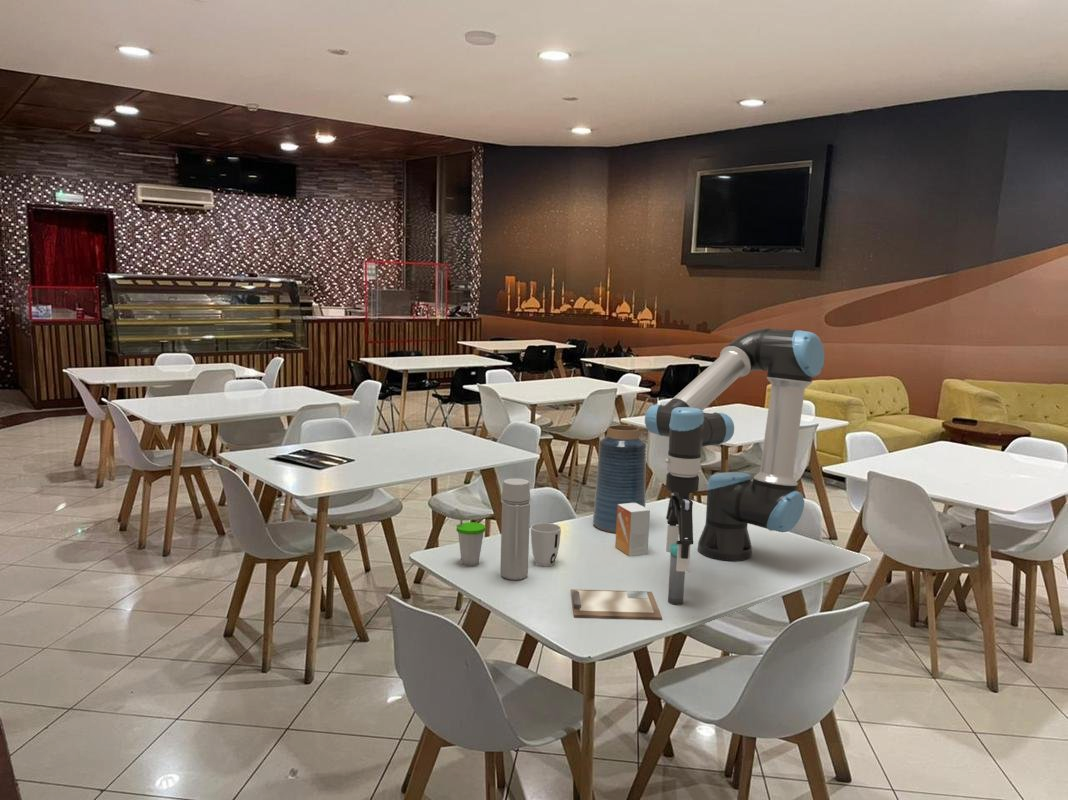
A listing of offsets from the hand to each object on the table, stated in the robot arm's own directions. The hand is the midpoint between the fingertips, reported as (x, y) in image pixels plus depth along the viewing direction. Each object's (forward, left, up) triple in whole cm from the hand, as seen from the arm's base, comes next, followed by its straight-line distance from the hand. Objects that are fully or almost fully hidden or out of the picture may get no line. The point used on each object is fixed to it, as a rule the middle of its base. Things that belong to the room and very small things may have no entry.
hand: (676, 561), depth 184 cm
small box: (+6, -36, -11) cm, 38 cm away
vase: (+7, -59, -11) cm, 61 cm away
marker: (0, 0, -10) cm, 10 cm away
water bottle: (+39, -13, -11) cm, 42 cm away
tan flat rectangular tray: (+15, +3, -10) cm, 18 cm away
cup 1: (+51, -22, -11) cm, 56 cm away
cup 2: (+31, -24, -11) cm, 41 cm away
